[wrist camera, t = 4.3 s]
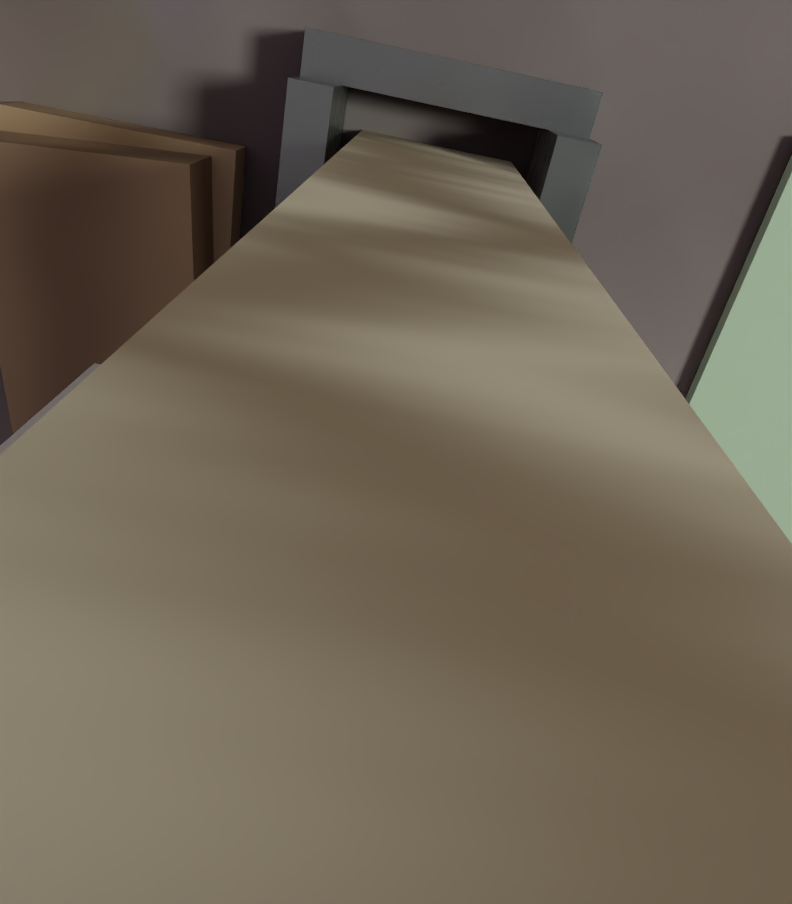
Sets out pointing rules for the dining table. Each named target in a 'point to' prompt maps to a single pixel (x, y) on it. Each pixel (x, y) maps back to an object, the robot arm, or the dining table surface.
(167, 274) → the offcut top
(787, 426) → the mat
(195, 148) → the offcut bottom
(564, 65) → the dining table surface
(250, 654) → the tall beige pillar
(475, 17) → the dining table surface
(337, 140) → the rack
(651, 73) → the dining table surface
